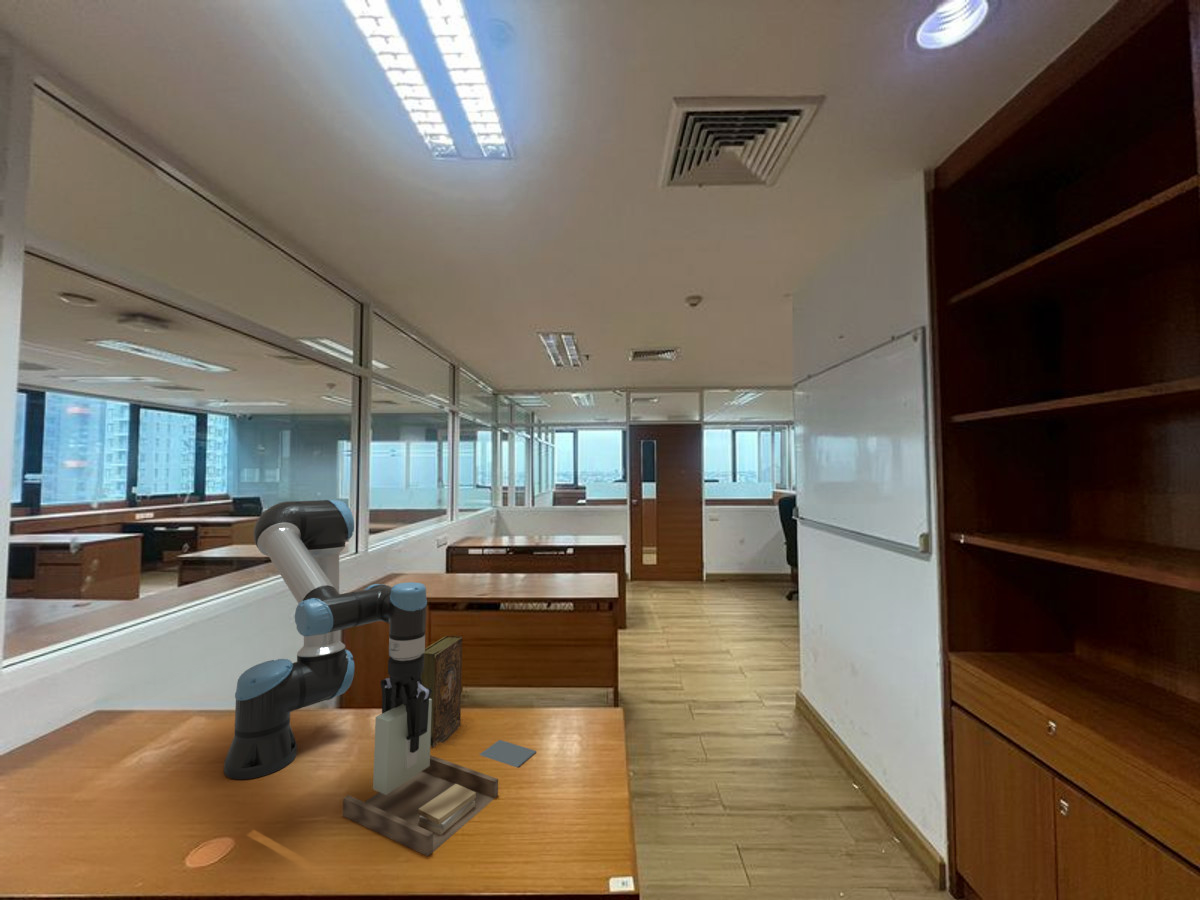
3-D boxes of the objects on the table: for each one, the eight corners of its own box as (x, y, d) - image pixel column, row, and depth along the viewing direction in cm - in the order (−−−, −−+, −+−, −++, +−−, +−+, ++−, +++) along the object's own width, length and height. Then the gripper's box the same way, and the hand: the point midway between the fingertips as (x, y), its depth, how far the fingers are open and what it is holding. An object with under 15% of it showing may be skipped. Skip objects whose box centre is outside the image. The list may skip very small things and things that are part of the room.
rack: (342, 823, 105) (343, 798, 106) (418, 772, 123) (419, 751, 124) (427, 864, 94) (428, 836, 95) (497, 802, 112) (498, 779, 113)
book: (445, 721, 149) (447, 634, 150) (462, 723, 148) (464, 636, 149) (413, 751, 133) (416, 653, 134) (432, 754, 132) (435, 655, 133)
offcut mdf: (419, 821, 102) (419, 816, 102) (451, 793, 112) (451, 788, 112) (443, 829, 100) (443, 824, 100) (474, 799, 109) (474, 795, 109)
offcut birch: (418, 825, 103) (418, 820, 103) (453, 797, 112) (453, 793, 112) (440, 835, 100) (440, 829, 100) (475, 806, 109) (475, 801, 109)
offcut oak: (418, 813, 103) (418, 808, 103) (455, 788, 112) (455, 783, 112) (438, 824, 100) (438, 819, 100) (475, 797, 109) (475, 792, 109)
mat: (452, 775, 122) (452, 774, 122) (499, 741, 138) (499, 739, 138) (491, 790, 117) (491, 788, 117) (536, 752, 133) (536, 751, 133)
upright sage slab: (372, 789, 108) (375, 716, 108) (417, 761, 118) (419, 695, 119) (386, 795, 106) (388, 721, 107) (429, 765, 117) (431, 699, 117)
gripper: (366, 653, 114) (361, 760, 113) (421, 668, 106) (417, 783, 105) (393, 643, 120) (389, 744, 120) (447, 656, 113) (444, 765, 112)
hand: (402, 762), depth 112 cm, fingers closed on upright sage slab, 4 cm apart
